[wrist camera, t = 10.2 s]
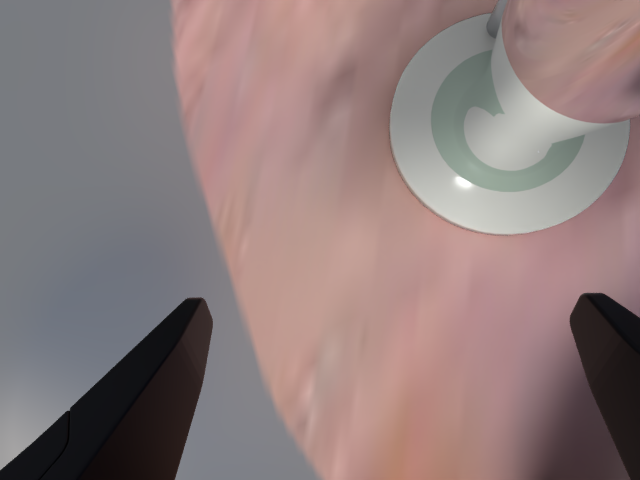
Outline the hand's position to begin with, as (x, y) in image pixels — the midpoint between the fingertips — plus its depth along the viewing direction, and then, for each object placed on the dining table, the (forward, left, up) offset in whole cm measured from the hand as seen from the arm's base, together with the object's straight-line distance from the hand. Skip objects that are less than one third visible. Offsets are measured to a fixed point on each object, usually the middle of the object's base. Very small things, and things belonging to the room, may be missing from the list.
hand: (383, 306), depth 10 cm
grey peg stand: (+10, -8, -14) cm, 18 cm away
